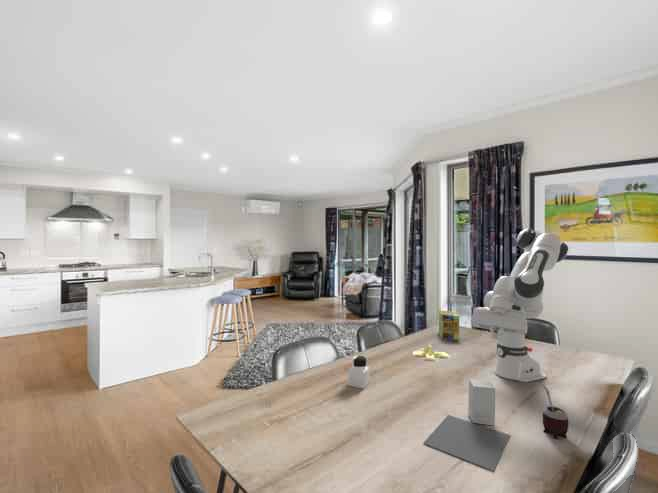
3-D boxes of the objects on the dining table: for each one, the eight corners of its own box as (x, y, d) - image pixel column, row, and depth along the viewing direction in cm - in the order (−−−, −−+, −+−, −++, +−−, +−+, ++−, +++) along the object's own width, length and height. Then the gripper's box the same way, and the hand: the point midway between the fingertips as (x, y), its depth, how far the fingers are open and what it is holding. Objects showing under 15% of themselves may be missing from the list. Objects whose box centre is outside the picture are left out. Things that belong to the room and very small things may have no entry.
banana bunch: (455, 357, 185) (455, 346, 185) (436, 364, 173) (436, 352, 173) (421, 347, 202) (421, 337, 202) (401, 353, 190) (401, 342, 190)
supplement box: (495, 426, 115) (496, 388, 115) (472, 423, 116) (473, 386, 116) (489, 415, 122) (490, 380, 122) (467, 413, 123) (468, 378, 123)
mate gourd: (568, 443, 106) (569, 395, 105) (539, 435, 110) (540, 389, 109) (567, 431, 112) (568, 386, 112) (539, 424, 116) (540, 381, 116)
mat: (448, 415, 122) (448, 414, 122) (510, 435, 109) (510, 435, 109) (423, 443, 104) (423, 442, 104) (493, 471, 92) (493, 470, 92)
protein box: (442, 339, 217) (442, 315, 217) (438, 332, 233) (438, 310, 232) (459, 340, 216) (459, 315, 215) (454, 333, 231) (454, 311, 231)
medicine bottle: (369, 382, 149) (369, 355, 149) (364, 389, 143) (364, 361, 143) (354, 379, 152) (354, 353, 152) (348, 386, 146) (348, 358, 146)
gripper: (473, 301, 144) (466, 329, 136) (528, 308, 132) (524, 339, 124) (475, 310, 148) (468, 337, 140) (529, 317, 135) (525, 348, 128)
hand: (495, 338), depth 132 cm, fingers closed
